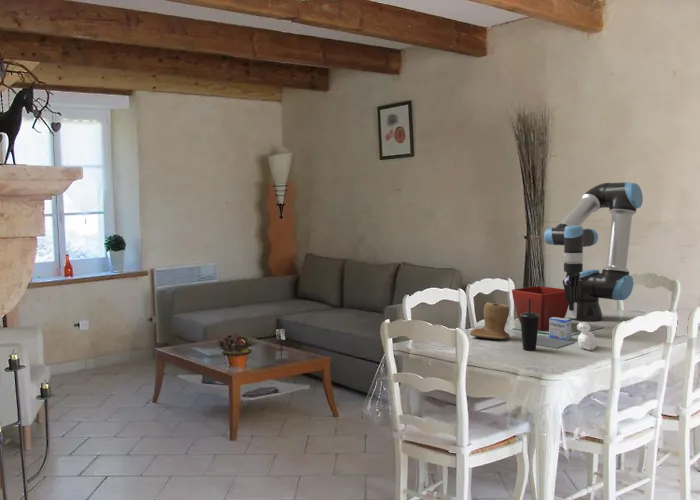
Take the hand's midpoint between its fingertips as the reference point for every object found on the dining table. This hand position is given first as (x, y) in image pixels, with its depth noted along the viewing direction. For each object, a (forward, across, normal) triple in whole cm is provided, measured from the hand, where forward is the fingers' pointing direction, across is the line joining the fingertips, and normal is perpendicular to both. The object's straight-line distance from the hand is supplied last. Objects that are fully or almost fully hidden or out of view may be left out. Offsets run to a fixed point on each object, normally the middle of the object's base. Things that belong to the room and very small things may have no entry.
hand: (572, 317), depth 292 cm
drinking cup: (+8, +34, +1) cm, 35 cm away
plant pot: (+8, -6, -19) cm, 21 cm away
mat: (+8, +19, 0) cm, 20 cm away
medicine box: (+8, +10, 0) cm, 13 cm away
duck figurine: (+8, +17, +16) cm, 25 cm away
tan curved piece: (+8, +27, -22) cm, 36 cm away
